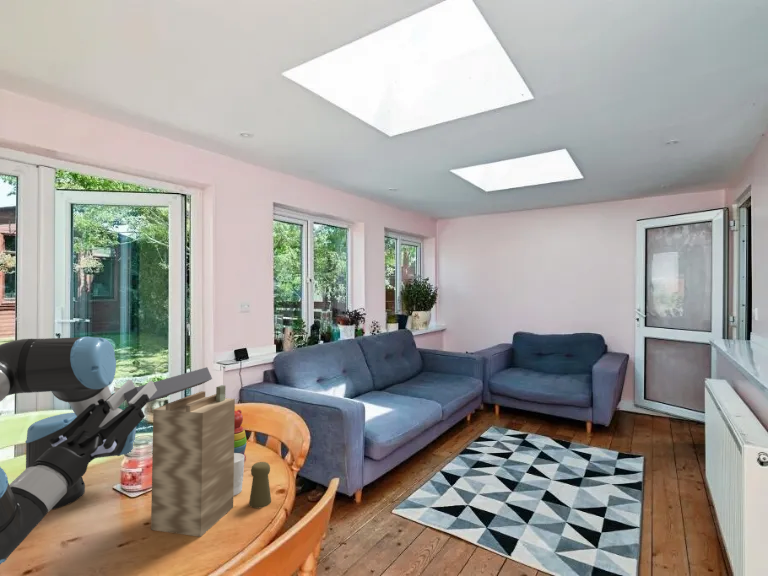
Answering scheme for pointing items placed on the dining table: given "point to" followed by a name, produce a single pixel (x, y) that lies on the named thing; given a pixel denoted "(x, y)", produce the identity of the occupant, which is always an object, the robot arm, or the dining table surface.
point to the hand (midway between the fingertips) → (142, 385)
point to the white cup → (238, 473)
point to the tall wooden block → (192, 463)
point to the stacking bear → (239, 434)
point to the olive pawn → (260, 485)
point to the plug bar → (174, 384)
